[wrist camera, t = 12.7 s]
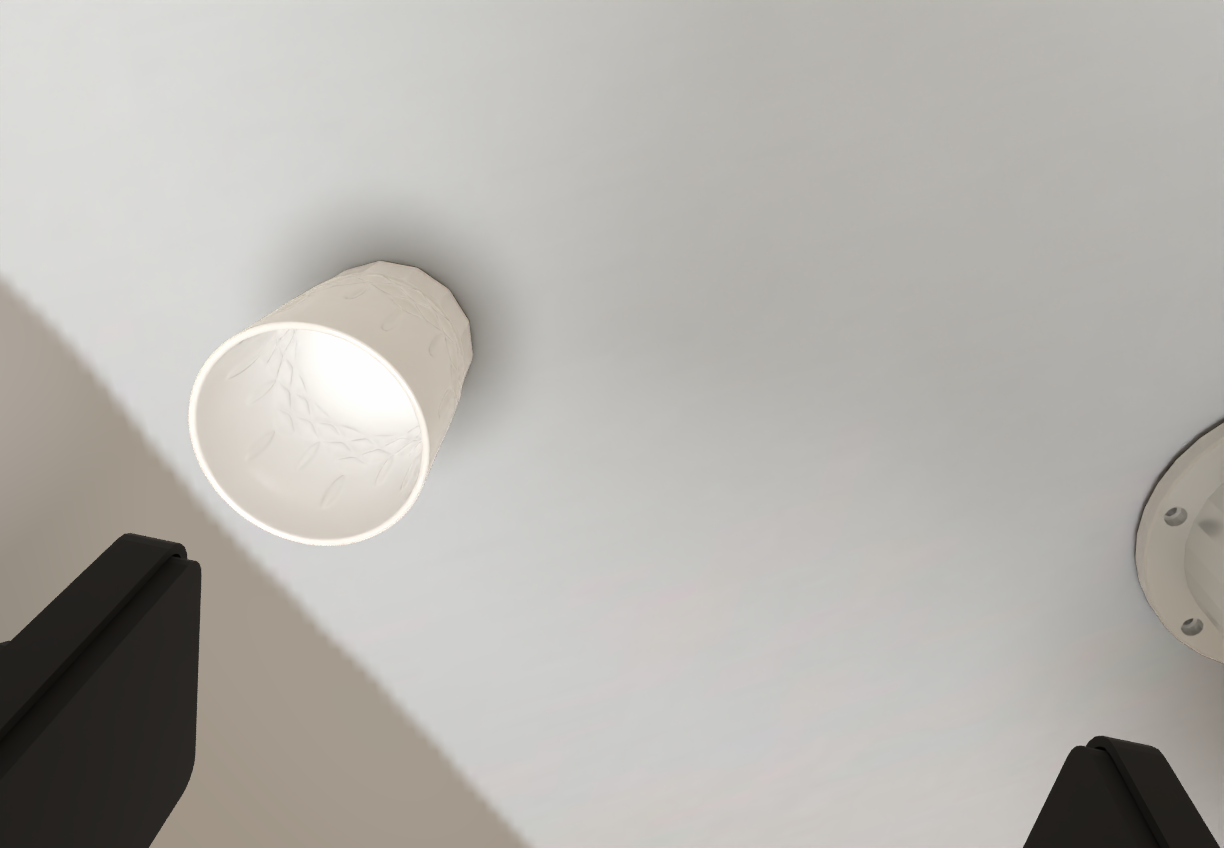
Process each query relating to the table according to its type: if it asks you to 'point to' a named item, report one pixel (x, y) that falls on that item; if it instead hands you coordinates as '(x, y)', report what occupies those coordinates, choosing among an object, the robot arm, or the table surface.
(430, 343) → the white cup
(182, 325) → the table surface
